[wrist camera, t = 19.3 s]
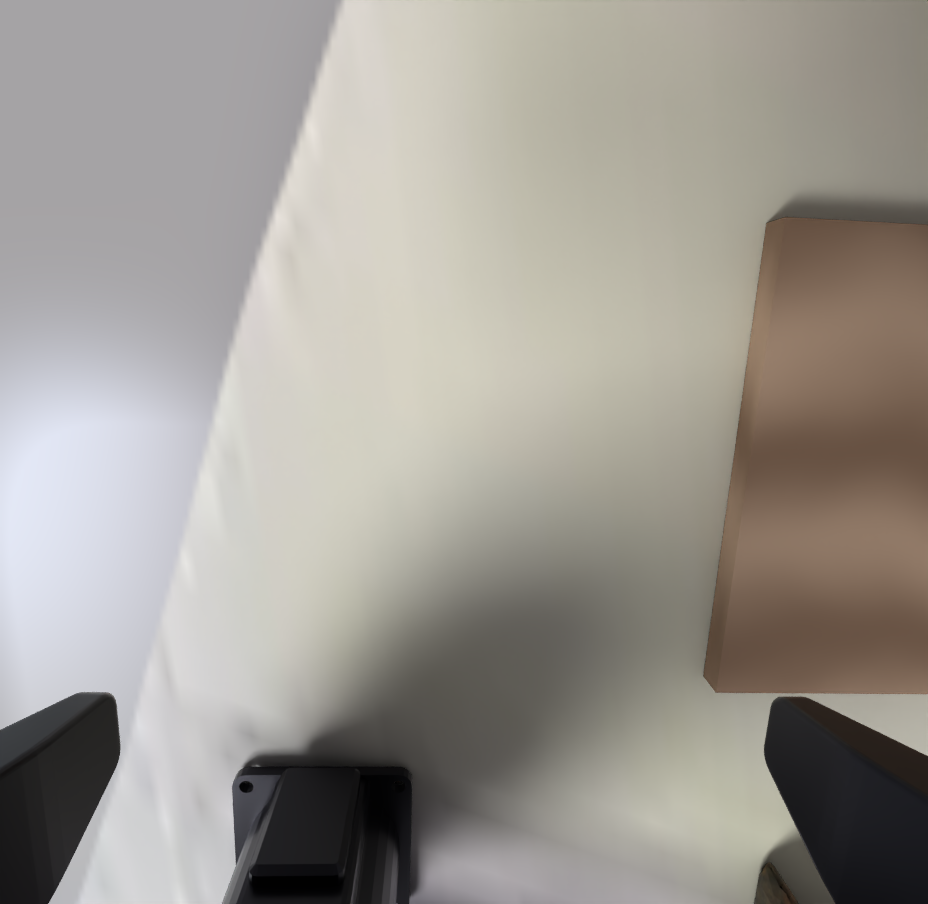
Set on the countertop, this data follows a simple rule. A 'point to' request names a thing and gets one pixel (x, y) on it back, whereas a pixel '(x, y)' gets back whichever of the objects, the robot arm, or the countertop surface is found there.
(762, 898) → the hand tool
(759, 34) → the countertop surface
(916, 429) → the walnut board
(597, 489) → the countertop surface
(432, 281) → the countertop surface
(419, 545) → the countertop surface
